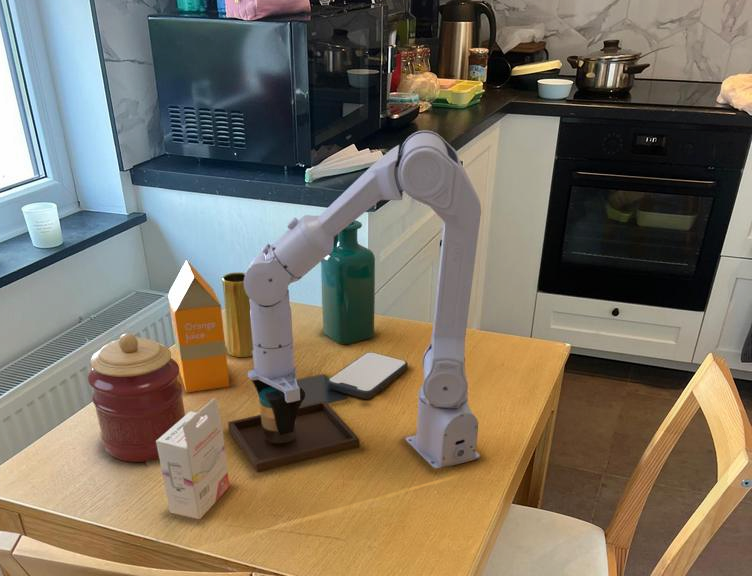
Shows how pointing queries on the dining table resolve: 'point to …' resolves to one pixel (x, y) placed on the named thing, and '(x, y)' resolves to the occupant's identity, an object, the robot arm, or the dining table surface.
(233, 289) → the vase
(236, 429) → the tray
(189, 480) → the ink cartridge box
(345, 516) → the dining table surface
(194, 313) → the orange juice
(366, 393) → the phone case
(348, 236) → the green glass bottle
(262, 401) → the teal lidded glass jar
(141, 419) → the kitchen canister
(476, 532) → the dining table surface
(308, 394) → the slate coaster
